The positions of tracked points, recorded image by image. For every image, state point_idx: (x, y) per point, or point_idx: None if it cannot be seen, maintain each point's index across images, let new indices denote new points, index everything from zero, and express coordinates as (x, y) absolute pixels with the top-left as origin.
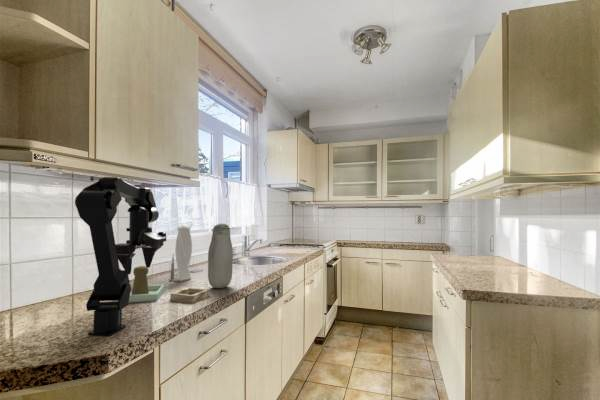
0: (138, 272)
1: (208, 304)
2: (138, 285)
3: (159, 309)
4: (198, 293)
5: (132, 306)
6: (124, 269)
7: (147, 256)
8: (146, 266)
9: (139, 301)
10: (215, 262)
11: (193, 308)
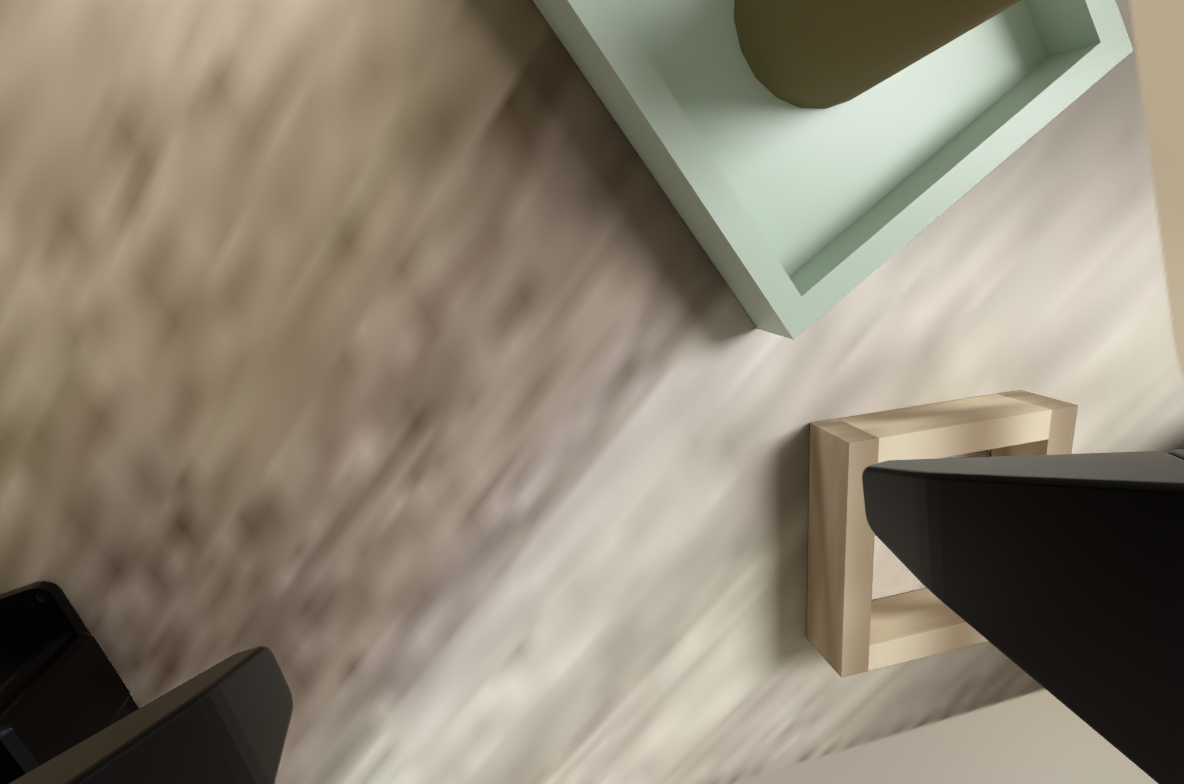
0: None
1: (819, 751)
2: (842, 3)
3: (583, 561)
4: (921, 652)
5: (536, 264)
6: (123, 724)
7: (1133, 631)
8: (871, 480)
9: (668, 195)
10: None
11: (707, 743)
